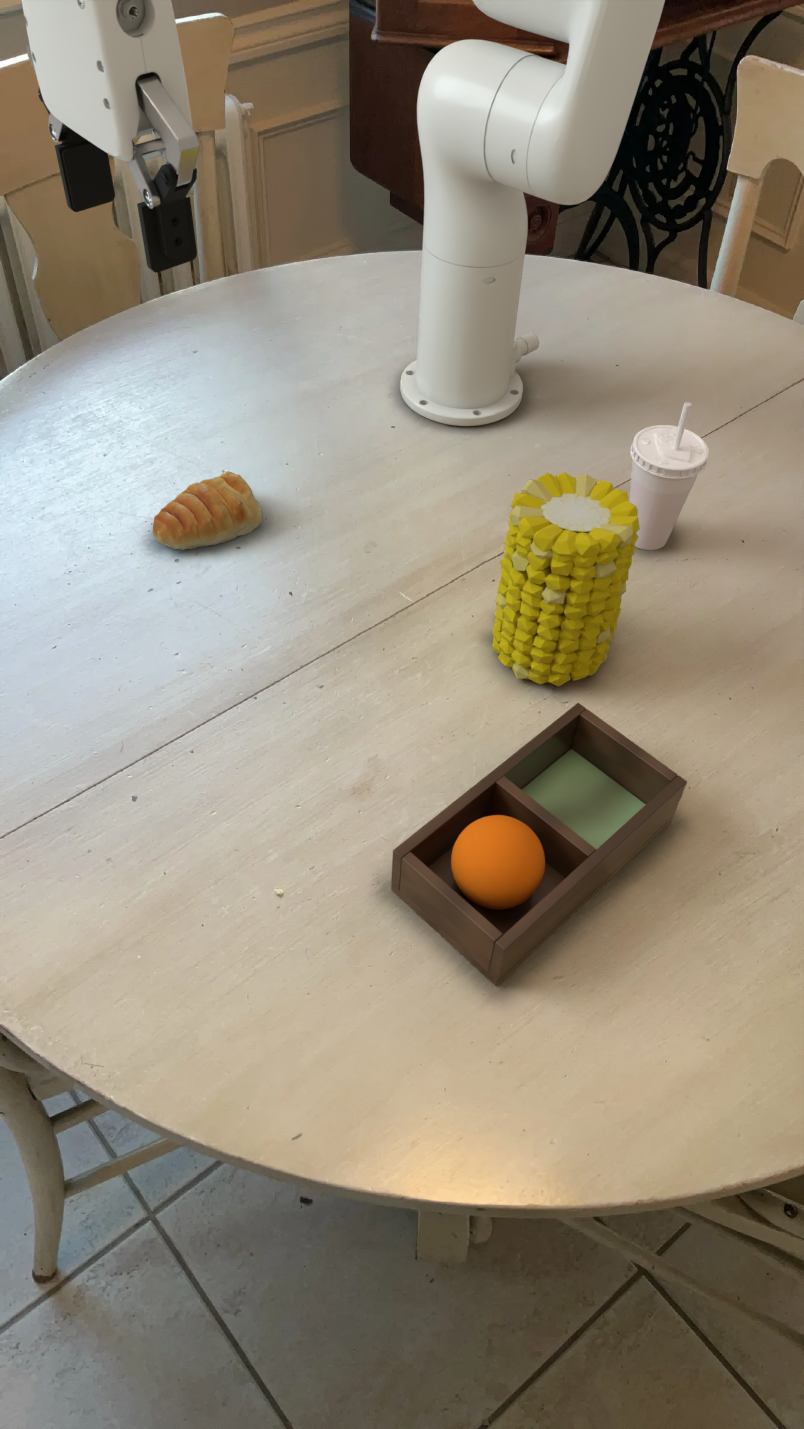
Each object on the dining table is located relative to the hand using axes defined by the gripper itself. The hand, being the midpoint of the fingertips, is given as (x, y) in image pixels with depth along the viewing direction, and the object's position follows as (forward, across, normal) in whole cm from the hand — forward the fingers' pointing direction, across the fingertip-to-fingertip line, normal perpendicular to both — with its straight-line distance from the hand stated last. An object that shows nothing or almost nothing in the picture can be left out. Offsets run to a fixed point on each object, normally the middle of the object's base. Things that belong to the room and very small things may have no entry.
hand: (131, 233), depth 66 cm
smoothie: (+30, -20, -35) cm, 51 cm away
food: (+30, -24, -19) cm, 43 cm away
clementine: (+26, -38, +1) cm, 46 cm away
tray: (+30, -38, -4) cm, 48 cm away
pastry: (+30, +5, -5) cm, 31 cm away
